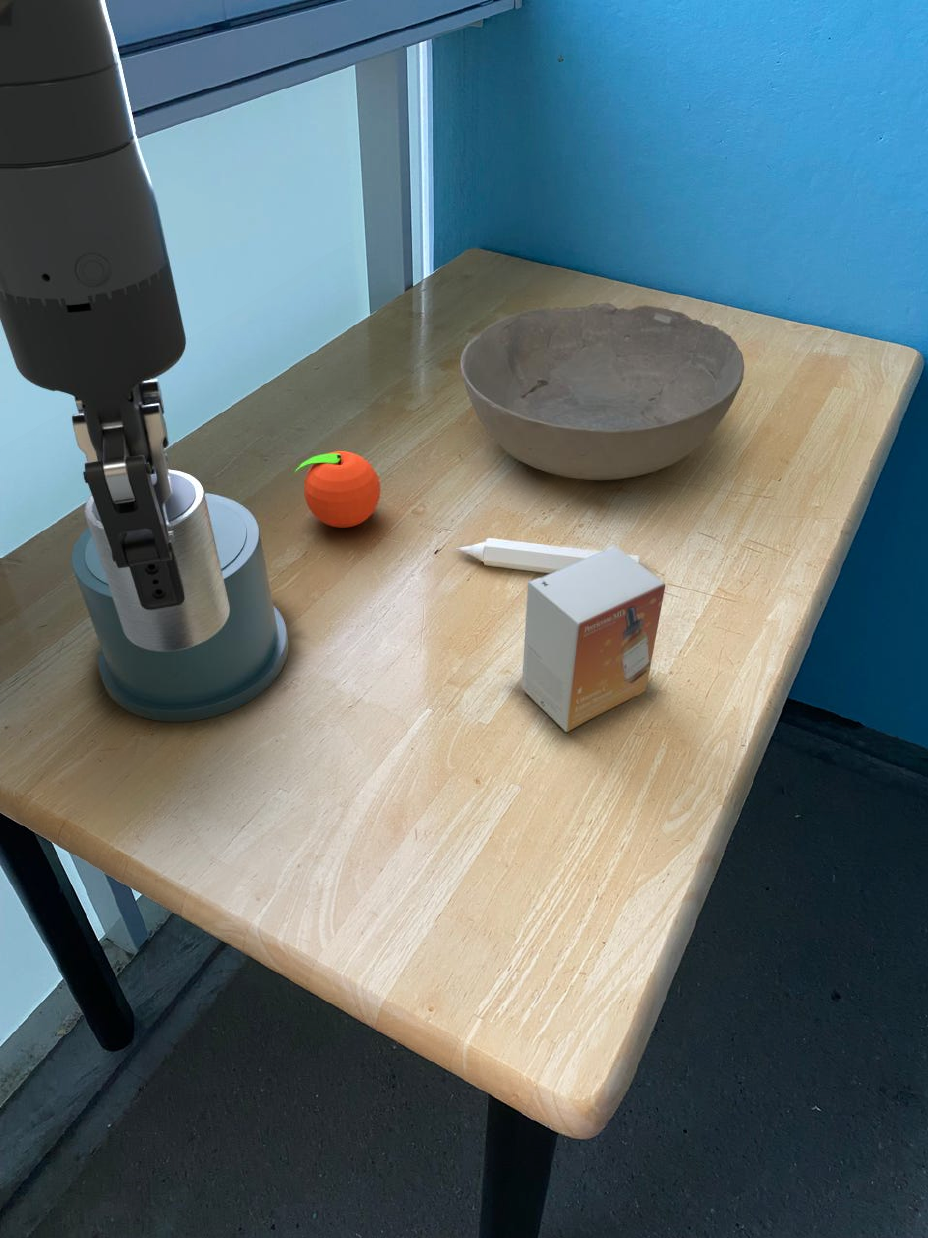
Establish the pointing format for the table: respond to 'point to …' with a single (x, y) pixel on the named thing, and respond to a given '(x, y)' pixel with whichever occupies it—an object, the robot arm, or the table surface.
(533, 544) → the white pencil
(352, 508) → the clementine
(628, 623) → the small box
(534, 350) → the bowl
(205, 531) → the cup
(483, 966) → the table surface
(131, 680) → the blue flanged cylinder
